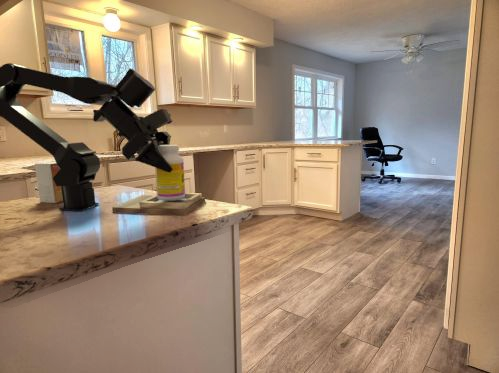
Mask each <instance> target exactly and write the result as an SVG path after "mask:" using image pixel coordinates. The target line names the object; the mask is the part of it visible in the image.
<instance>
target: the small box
mask: <svg viewBox="0 0 499 373" xmlns="http://www.w3.org/2000/svg"><path fill="white" fill-rule="evenodd" d="M34 168H35V175H36V176H35V177H36V182H37V184H36V185H37V190H38V197H39V202H40V203H48V204H56V203H60V202H63V197H62V189H61V186H56V184H55V182H54V180H53V177H54V176H55V175H56V174H57V172H58V171H59V170H60V168H59V167H58V166H57V163H56V161H48V162H40V163H39V162H38V163H37V162H36V163H34Z"/></svg>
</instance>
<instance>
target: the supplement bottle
mask: <svg viewBox="0 0 499 373" xmlns="http://www.w3.org/2000/svg"><path fill="white" fill-rule="evenodd" d="M158 150H159V152H160V153H161V155H162V156H163V157H164V158H165V160H166V161H167V162H168V163H169V165H170V166H171V167H172V169H173V170H172V171H171V172H170V173H169V172H166V171H163V170H161V169H158V168H156V167H154V168H155V170H154V171H155V184H156V195H157V198H158V199H159V200H162V201H175V200H180V199H183V198H184V197H185V193H186V187H185V186H186V185H185V183H186V182H185V167H184V158H183V157H182V156H181V155H179V151H180V145H179V144H170V145H159V146H158Z"/></svg>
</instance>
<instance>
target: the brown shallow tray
mask: <svg viewBox="0 0 499 373" xmlns="http://www.w3.org/2000/svg"><path fill="white" fill-rule="evenodd" d="M202 194H203V193H201V192H200V193H198V192H197V193H195V192H194V193H193V192H192V193H191V192H185V197H184V198H183V199H180V200H175V201H162V200H159V199H158V198H157V194H155V195H151V194H149V195H147V194H142V195H139V196H137V197H134V198H132V199H128V200H127V201H124V202H122V203H119V204H117V205H115V206H112V207H111V209H112V210H111V212H112V213H117V214H118V213H121V214H123V213H124V214H139V213H140V214H141V213H143V214H144V215H162V216H163V215H164V216H167V215H168V216H183V217H184V216H186V215H188V214H189V213H191V212H192V211H194V210H195V209H196V208H198V207H199V206H201V205H202V204H204V203H205V202H206V197H205V196H203V195H202ZM145 213H147V214H145ZM143 214H142V215H143Z"/></svg>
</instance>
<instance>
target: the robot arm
mask: <svg viewBox="0 0 499 373" xmlns="http://www.w3.org/2000/svg"><path fill="white" fill-rule="evenodd" d="M25 85H28V86H32V87H36V88H41V89H44V90H45V89H46V90H50V91H54V92H58V93H62V94H64V95H67V96H69V97H70V98H73V99H74V100H77V101H79V102H82V103H83V104H88V105H96V106H100V108H99V109H92V110H93V111H92V112H93V119H92V121H93V122H95V123H99V122H101V123H103V122H104V121H105V120H106V121H107V122H108V124H110V125H111V127H113V128H114V129H115V130H116V132H118V133H117V134H116V135H117V136H118V137H120V138H124V139H126V140H127V142H126V143H125V144H124V145H123V147H122V148H121V151H122V152H121V153H122V156H123V157H125V159H127V160H128V161H132V160H134V161H135V162H139V163H142V164H145V165H148V166H150V167H153V168H155V167H156V168H158V169H161V170H163V171H166V172H169V173H170V172H171V171H172V170H173V169H172V167H171V166H170V165H169V163H168V162H167V161H166V160H165V158H164V157H163V156H162V155H161V153H160V152H159V150H158V146H159V145H171V144H170V143H171V138H172V135H171V134H169V133H168V132H167V131H159V130H158V129H159V128H162V127H164V126H166V125H169V124H172V123H173V119H172V116H171V113H169V112H168V110H167V109H165V108H160V109H158V110H156V111H153V112H151V113H150V114H148V115H146V116H138V115H137V113H135V112H134V111H133V110H132V109H131V108H133V109H134V107H135V106H136V107H138V108H141V107H142V105H144V104H145V102H146V101H147V100H148V99H149V98H150V97H151V96H152V94H153V93H154V92H156V87H155V86H154V85H153V84H152V83H151V82H150V81H149V80H147V79H146V78H144V77H143V76H142V75H141V74H139V73H138V72H137V71H136V70H135V69H133V68H129V69H127V71H126V73H125V74H124V75H123V77H122V78H121V79H120V80H119V82H118V83H117V84H116V85H114V84H111V83H108V82H106V81H104V80H100V79H97V78H93V77H89V76H63V75H58V74H54V73H53V74H52V73H49V72H45V71H40V70H36V69H31V68H27V67H26V66H24V65H18V64H15V63H11V62H9V63H4V64H2V65H1V66H0V118H2V119H3V120H5V121H6V122H8V123H9V124H11V125H12V126H13V127H14V128H16V129H17V130H18V131H20V132H21V133H22V134H24V135H25V136H26V137H28V138H29V139H31V141H33V142H34V143H36V144H37V145H38V146H40V148H42V149H43V150H45V151H46V152H47V153H49V154H50V155H52V157H53V159H54V160H55V161H56V163H57V166H58V167H59V168H60V170H59V171H58V172H57V174H56V175H55V176H54V177H53V180H54V182H55V184H56V186H61V189H62V197H63V201H62V203H63V204H62V205H63V206H59V207H58V210H59V211H75V212H76V211H78V212H80V211H81V212H82V211H85V210H87V209H90V208H93V207H96V206H98V205H100V203H99V202H96V195H95V189H94V187H93V182H92V181H95V180H96V174H97V173H98V172H99V170H100V168H101V162H100V161H101V160H100V158H99V156H98V155H97V154H96V153H97V152H96V151H95V150H93V149H91V148H89V146H88V145H87V144H85V143H84V142H82V141H80V142H70V141H67V140H66V139H65V138H63V137H62V136H61V135H60V134H59V133H58V132H56V131H54V130H53V129H52V128H51V127H49V126H48V125H47V124H45V123H44V122H43V121H41V120H40V119H39V118H38V117H37V116H35V115H34V114H32V113H31V112H30V111H29V110H27V109H26V108H24V107H23V106H22V105H21V103H20V101H19V99H18V95H20V94H21V92H22V90H23V88H24V86H25ZM136 154H137V155H138V156H137V157H136V156H135V155H136Z"/></svg>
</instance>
